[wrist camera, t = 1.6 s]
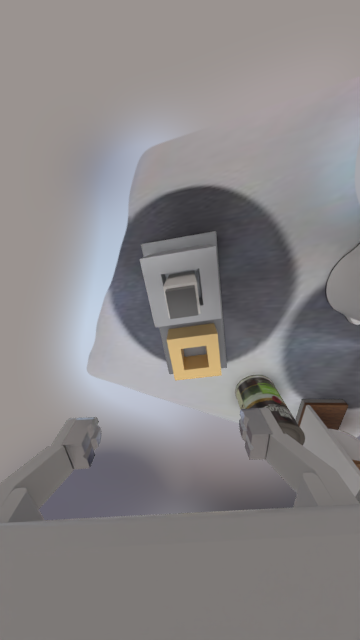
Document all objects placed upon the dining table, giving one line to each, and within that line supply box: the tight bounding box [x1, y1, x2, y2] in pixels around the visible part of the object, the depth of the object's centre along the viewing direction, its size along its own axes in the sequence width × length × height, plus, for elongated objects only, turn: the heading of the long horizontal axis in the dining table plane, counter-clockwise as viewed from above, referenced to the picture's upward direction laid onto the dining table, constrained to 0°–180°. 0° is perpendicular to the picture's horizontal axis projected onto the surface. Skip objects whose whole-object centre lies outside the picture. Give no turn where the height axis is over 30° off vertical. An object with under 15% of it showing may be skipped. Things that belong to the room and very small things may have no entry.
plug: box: [163, 270, 201, 319], centre depth 25 cm, size 4×4×10 cm
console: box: [140, 231, 227, 380], centre depth 36 cm, size 14×30×14 cm, turn 9°
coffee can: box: [235, 375, 305, 446], centre depth 44 cm, size 10×10×14 cm
